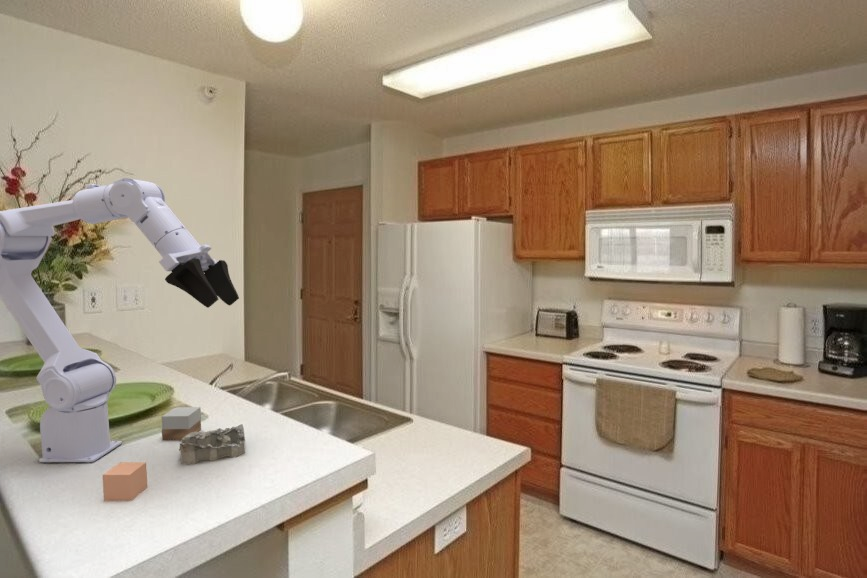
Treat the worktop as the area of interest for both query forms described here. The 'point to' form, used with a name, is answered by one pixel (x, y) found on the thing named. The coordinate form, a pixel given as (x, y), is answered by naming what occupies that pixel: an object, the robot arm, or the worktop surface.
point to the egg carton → (212, 444)
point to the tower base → (180, 432)
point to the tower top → (181, 418)
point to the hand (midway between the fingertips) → (224, 302)
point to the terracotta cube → (125, 481)
